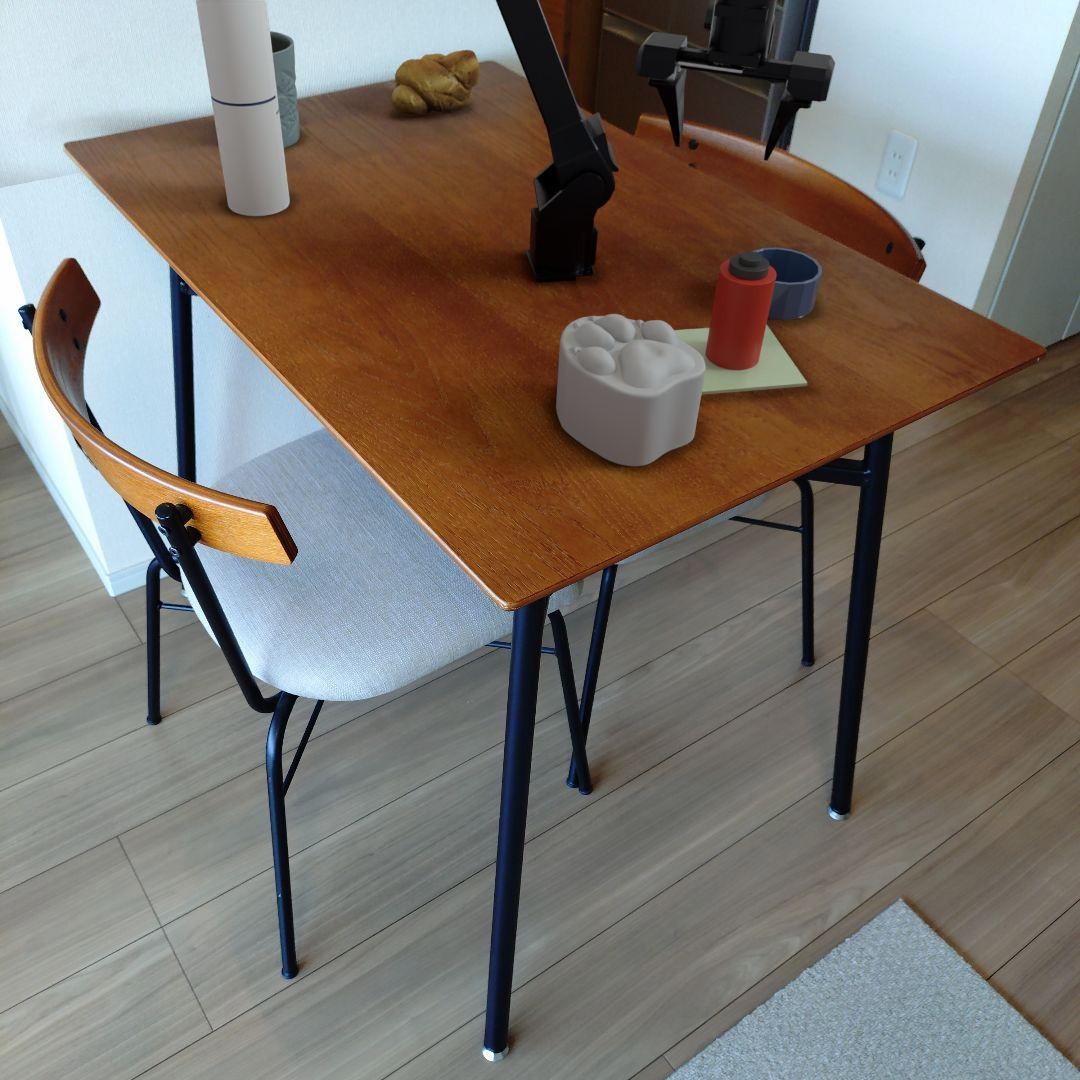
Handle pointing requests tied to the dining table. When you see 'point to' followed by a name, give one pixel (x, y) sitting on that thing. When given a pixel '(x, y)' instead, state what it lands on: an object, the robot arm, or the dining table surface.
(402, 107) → the bread roll
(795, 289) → the cup
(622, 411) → the lumpy-topped squat cylinder
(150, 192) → the dining table surface
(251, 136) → the cylindrical container
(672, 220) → the dining table surface
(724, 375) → the tile
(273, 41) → the embossed grey-green pot
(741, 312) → the bottle
